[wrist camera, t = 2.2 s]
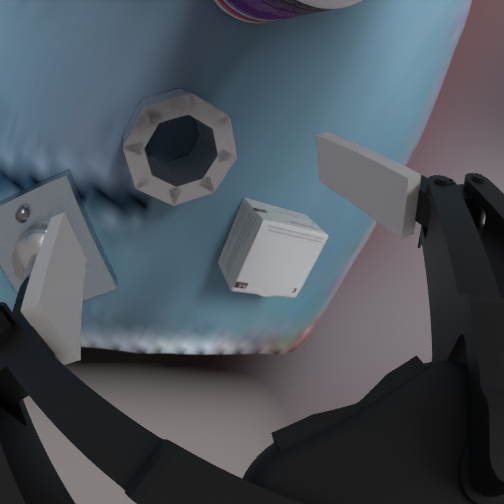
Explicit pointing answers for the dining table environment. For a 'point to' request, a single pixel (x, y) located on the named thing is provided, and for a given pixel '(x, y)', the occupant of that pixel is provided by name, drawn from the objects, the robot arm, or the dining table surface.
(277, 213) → the small box
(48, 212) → the block
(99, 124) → the dining table surface
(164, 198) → the tube
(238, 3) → the pill bottle
